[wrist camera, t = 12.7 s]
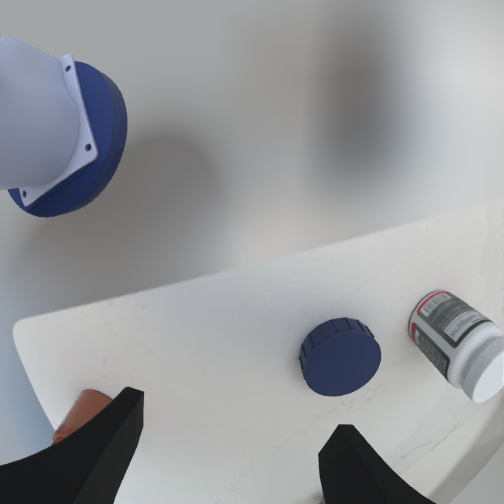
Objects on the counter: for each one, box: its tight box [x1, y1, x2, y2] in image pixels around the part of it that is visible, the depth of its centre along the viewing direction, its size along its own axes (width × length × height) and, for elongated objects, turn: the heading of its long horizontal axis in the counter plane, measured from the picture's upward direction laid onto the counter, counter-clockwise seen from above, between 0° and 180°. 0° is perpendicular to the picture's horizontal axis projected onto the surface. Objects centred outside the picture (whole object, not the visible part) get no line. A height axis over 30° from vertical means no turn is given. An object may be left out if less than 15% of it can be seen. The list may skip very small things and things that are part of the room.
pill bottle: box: [409, 291, 504, 404], centre depth 14 cm, size 5×5×8 cm
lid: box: [299, 318, 381, 396], centre depth 18 cm, size 5×5×2 cm
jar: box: [52, 390, 112, 445], centre depth 17 cm, size 5×5×8 cm
